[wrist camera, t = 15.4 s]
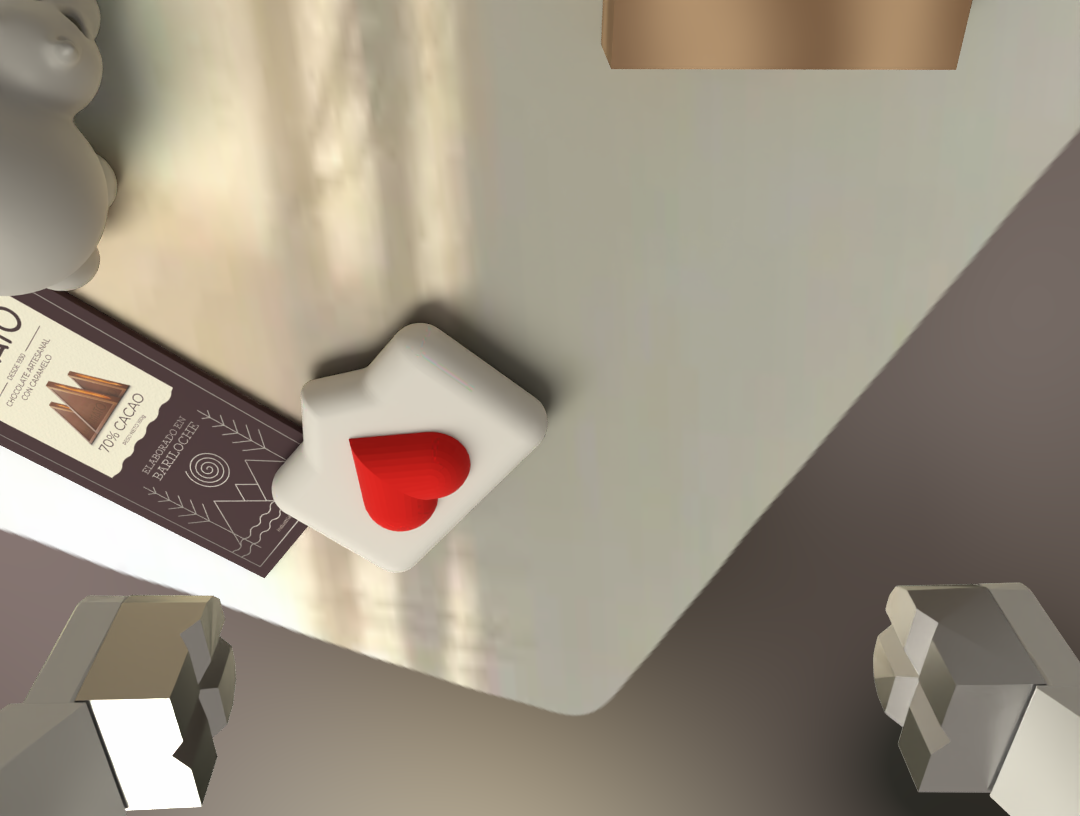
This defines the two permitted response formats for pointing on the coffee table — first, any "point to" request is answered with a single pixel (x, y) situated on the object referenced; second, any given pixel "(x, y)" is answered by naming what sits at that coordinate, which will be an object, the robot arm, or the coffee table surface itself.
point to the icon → (405, 447)
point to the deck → (784, 34)
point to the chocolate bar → (143, 427)
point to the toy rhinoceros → (49, 146)
